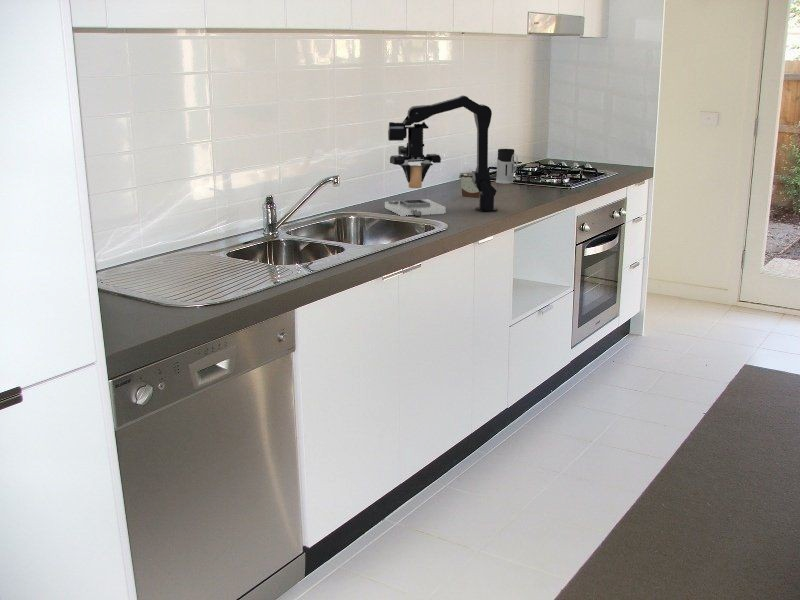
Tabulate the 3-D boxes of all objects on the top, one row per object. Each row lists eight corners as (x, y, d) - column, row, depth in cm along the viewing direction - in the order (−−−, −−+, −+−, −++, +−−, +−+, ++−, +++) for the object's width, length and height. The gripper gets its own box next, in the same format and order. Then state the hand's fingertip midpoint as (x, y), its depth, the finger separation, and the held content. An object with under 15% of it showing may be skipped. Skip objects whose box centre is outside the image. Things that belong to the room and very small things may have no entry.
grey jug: (508, 180, 415) (509, 148, 411) (524, 184, 403) (525, 151, 399) (491, 181, 412) (493, 148, 408) (507, 185, 400) (509, 152, 395)
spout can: (423, 187, 335) (423, 166, 333) (411, 188, 333) (411, 167, 331) (417, 185, 341) (417, 164, 339) (404, 185, 340) (405, 164, 337)
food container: (491, 197, 369) (492, 173, 366) (485, 199, 364) (485, 175, 361) (464, 194, 375) (465, 171, 372) (458, 197, 370) (458, 173, 367)
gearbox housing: (448, 215, 331) (448, 205, 330) (403, 217, 325) (403, 208, 324) (427, 205, 350) (427, 196, 349) (384, 208, 344) (384, 199, 343)
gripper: (430, 137, 342) (430, 177, 346) (385, 139, 335) (385, 180, 340) (441, 140, 332) (441, 182, 336) (394, 142, 325) (394, 184, 330)
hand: (415, 182), depth 336 cm, fingers closed on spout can, 5 cm apart
